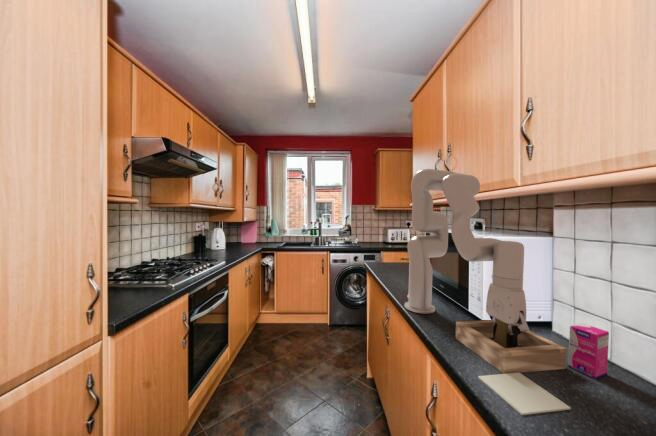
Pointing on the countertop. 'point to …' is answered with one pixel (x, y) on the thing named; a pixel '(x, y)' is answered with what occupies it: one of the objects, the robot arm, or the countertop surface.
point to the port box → (511, 349)
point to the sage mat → (523, 393)
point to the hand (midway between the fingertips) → (504, 342)
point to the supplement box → (588, 350)
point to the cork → (501, 333)
